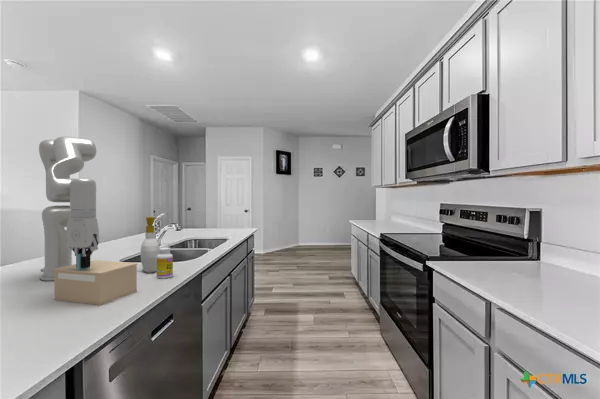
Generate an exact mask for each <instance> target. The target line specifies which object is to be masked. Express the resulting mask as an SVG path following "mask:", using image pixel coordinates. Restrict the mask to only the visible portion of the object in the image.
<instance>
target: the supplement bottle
mask: <svg viewBox="0 0 600 399" xmlns="http://www.w3.org/2000/svg"><path fill="white" fill-rule="evenodd" d="M159 248H160V249H159V252H160V254H158V255H157V271H156V278H157V279H169V278H172V277H173V275H174V274H173V272H174V270H173V268H174V255H173V254H172V253H171V250H172V249H171V247H159Z"/></svg>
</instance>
